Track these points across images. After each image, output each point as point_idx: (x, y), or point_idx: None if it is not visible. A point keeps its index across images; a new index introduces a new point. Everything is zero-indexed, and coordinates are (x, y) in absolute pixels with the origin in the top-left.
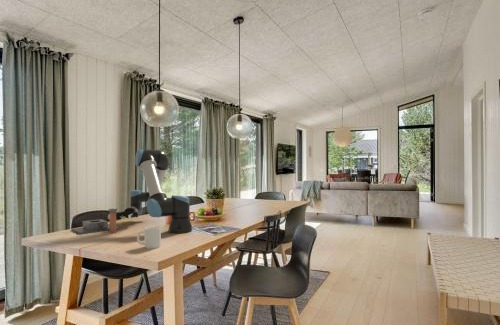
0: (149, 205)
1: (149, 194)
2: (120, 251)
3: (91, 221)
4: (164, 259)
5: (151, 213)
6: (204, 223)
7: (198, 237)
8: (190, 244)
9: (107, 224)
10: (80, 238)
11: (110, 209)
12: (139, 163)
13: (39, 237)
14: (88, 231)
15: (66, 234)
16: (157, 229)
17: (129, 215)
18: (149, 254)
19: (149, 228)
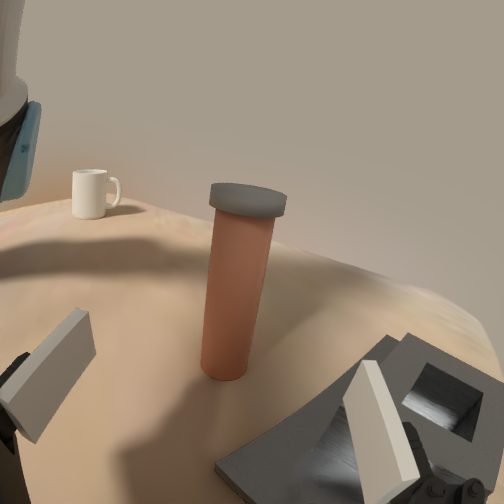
0: (35, 135)
1: (10, 72)
2: (154, 213)
3: (479, 407)
4: None
5: (30, 174)
6: None
7: None
8: (22, 212)
9: (330, 424)
10: (322, 295)
11: (264, 189)
12: None
13: (462, 317)
14: (370, 352)
15: (438, 346)
16: (85, 171)
17: (73, 317)
18: (108, 202)
19: (92, 177)
